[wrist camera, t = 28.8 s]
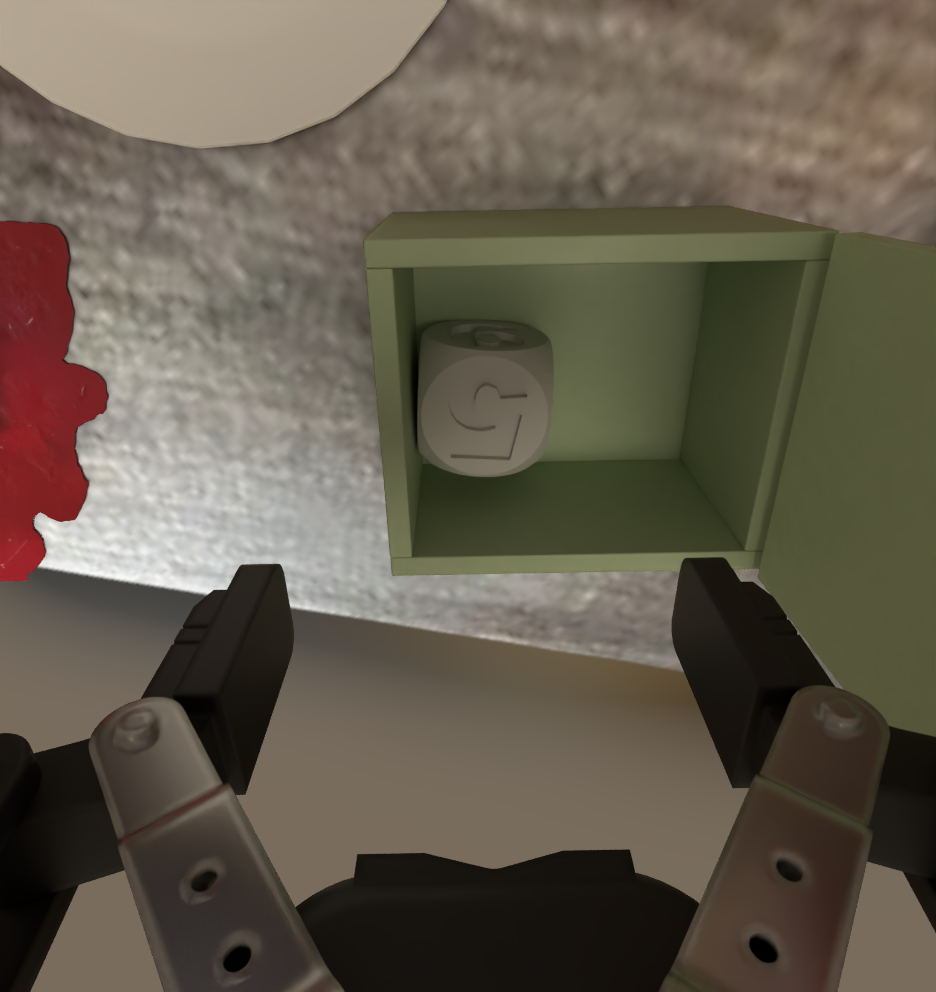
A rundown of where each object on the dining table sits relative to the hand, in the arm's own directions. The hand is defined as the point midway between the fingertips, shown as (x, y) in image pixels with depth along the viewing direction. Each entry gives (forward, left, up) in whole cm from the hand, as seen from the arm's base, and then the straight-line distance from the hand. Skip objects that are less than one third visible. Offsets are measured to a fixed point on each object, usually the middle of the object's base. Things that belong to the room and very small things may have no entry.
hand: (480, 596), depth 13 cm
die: (+1, 0, -17) cm, 17 cm away
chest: (0, +4, -18) cm, 18 cm away
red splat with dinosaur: (+2, -24, -19) cm, 31 cm away
